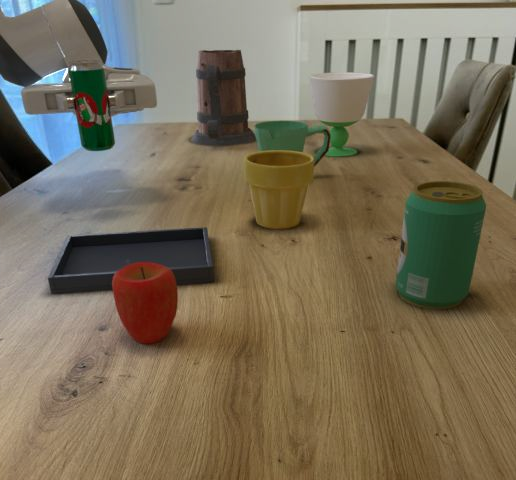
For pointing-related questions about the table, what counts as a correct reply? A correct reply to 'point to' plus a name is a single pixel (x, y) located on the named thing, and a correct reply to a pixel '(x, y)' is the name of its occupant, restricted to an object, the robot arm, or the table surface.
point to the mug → (289, 136)
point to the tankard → (221, 99)
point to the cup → (340, 104)
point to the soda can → (91, 104)
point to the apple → (146, 300)
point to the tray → (130, 257)
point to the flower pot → (278, 185)
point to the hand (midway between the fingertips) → (92, 103)
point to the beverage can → (439, 243)
